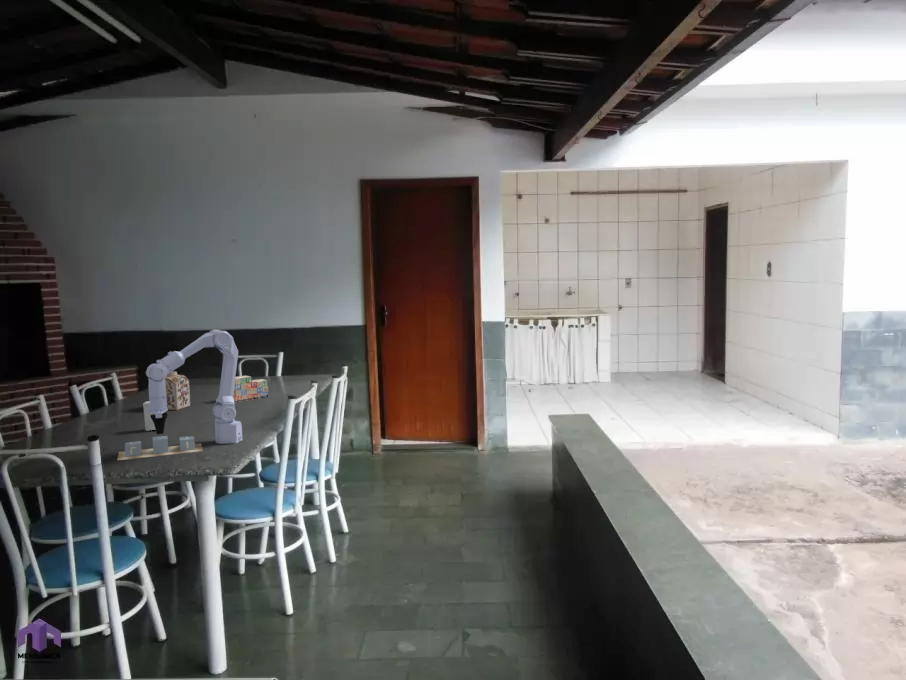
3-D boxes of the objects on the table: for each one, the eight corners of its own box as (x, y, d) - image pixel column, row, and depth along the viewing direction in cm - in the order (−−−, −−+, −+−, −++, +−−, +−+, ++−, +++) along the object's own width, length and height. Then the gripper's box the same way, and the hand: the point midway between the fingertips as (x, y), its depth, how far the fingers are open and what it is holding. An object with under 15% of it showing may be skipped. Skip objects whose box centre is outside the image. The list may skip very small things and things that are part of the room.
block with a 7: (141, 451, 239) (140, 440, 238) (141, 455, 234) (140, 444, 234) (126, 453, 237) (125, 442, 236) (125, 457, 232) (124, 445, 232)
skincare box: (163, 428, 280) (161, 400, 278) (159, 430, 275) (158, 402, 274) (148, 428, 279) (146, 400, 278) (144, 431, 274) (142, 402, 273)
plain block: (168, 448, 242) (167, 435, 242) (168, 452, 238) (167, 438, 237) (153, 450, 240) (152, 437, 240) (153, 453, 236) (152, 440, 235)
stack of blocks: (262, 395, 354) (261, 373, 353) (268, 397, 349) (267, 374, 348) (224, 401, 339) (223, 378, 338) (230, 403, 335) (229, 379, 333)
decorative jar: (177, 410, 317) (175, 373, 315) (155, 410, 319) (153, 373, 317) (191, 405, 328) (189, 370, 326) (170, 405, 330) (168, 369, 329)
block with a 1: (194, 446, 246) (193, 435, 245) (195, 449, 241) (194, 438, 241) (180, 447, 244) (179, 437, 243) (180, 451, 239) (179, 440, 239)
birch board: (201, 445, 250) (201, 443, 250) (202, 453, 239) (202, 450, 239) (119, 454, 239) (119, 451, 239) (117, 463, 228) (116, 460, 228)
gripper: (146, 394, 242) (148, 430, 243) (145, 401, 229) (147, 439, 230) (166, 392, 245) (169, 428, 246) (167, 399, 232) (169, 437, 233)
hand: (160, 433), depth 238 cm, fingers closed
